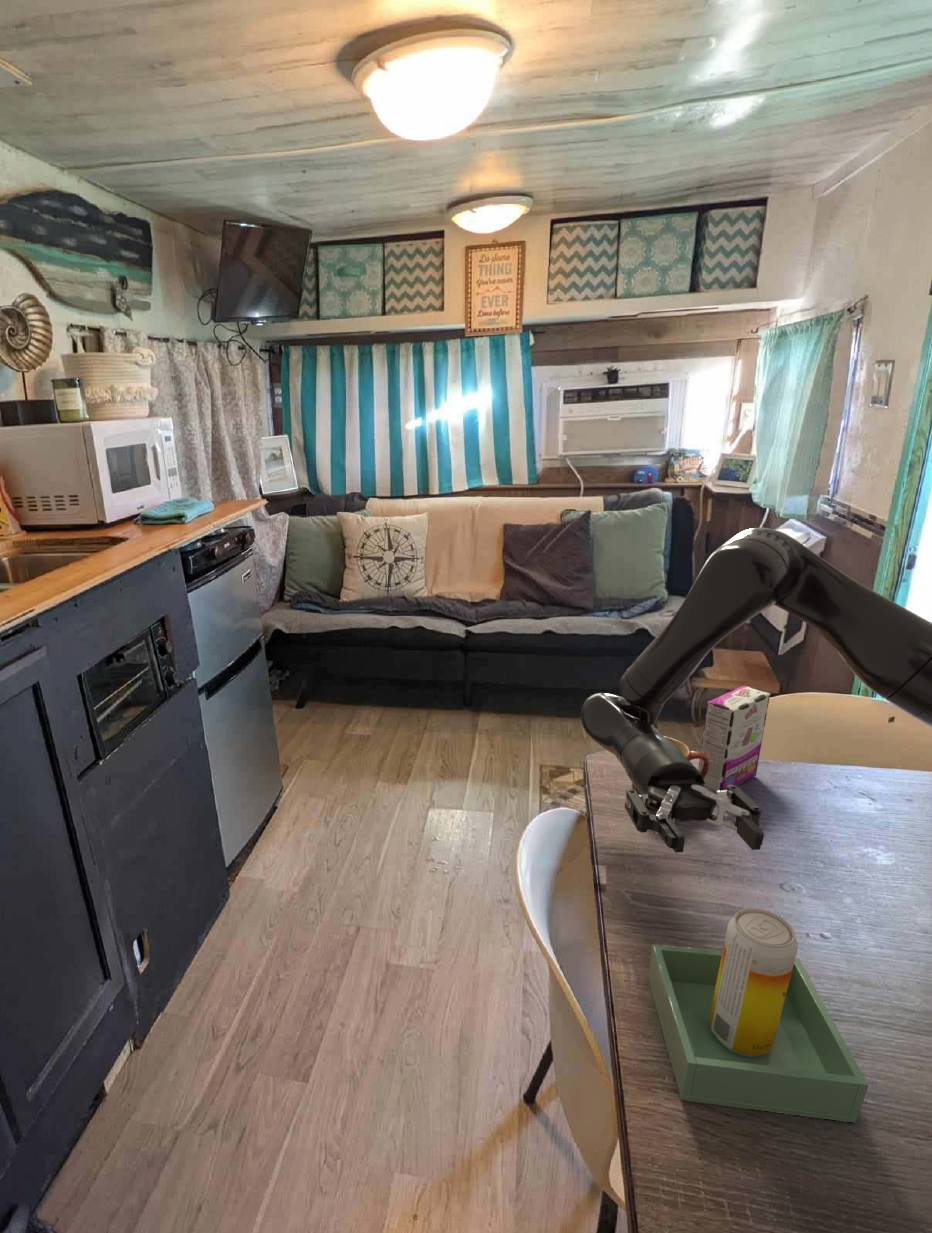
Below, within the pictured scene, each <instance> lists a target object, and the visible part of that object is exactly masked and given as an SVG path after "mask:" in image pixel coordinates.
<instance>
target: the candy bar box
mask: <svg viewBox="0 0 932 1233" xmlns="http://www.w3.org/2000/svg"><path fill="white" fill-rule="evenodd" d="M770 697H771V693H770V692H767V691H764V690H760V689H758V688H754V687H752V686H747V685H742V686H740V687H738V688H736V689H734V690H731V691H728V692H727V693H725V694H722V695H720V696H718V697H716V698H715V697H714V699H711V700H708V701H707V704H706V709H705V718H704V726H703V733H702V740H701V748H700V752H701V753H703V754H705V755H706V756H707V758H708V760H709V769H708V772H707V774H706V776H705V777H704V779H703V780H704V782H705V784H706V785H707V786H709V787H711V788H713V789H714V790H715V791H727V787H728V785H735V786H737V787H739V786H740V785H742V784H743V783H746V782H748V781H749V780H751V779H752V778H754V777H756V776H757V772H758V765H759V760H760V755H761V749H762V743H763V737H764V732H765V726H766V719H767V714H768V709H769V704H770V703H769V702H770ZM702 763H703V760H702V759H699V761H698V768H697V770H698V771H700V769H701V767H702Z"/></svg>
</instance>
